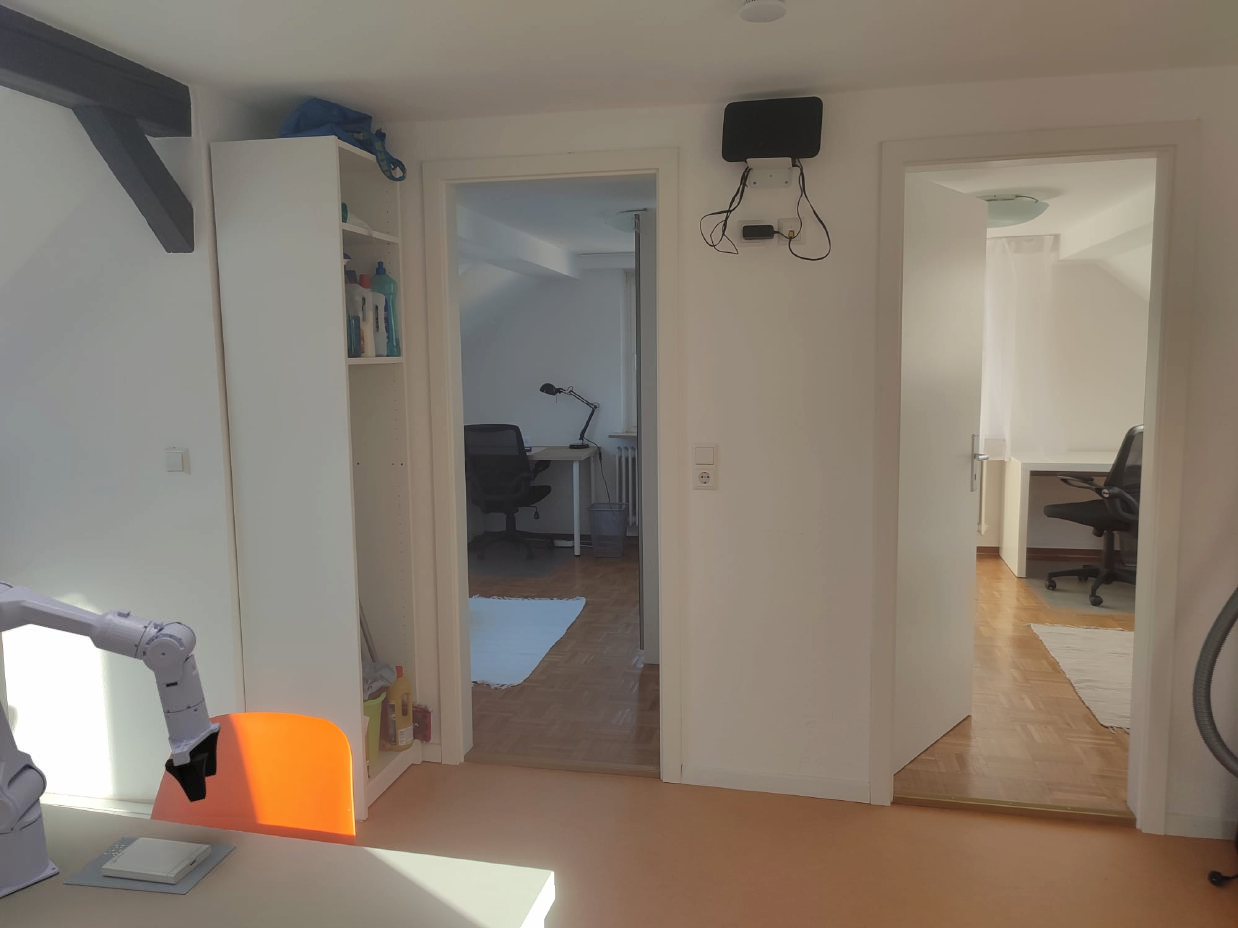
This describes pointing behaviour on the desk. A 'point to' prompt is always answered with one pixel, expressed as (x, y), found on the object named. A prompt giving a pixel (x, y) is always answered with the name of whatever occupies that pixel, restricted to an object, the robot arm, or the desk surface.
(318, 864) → the desk surface
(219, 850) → the label mat
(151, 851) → the hard drive
